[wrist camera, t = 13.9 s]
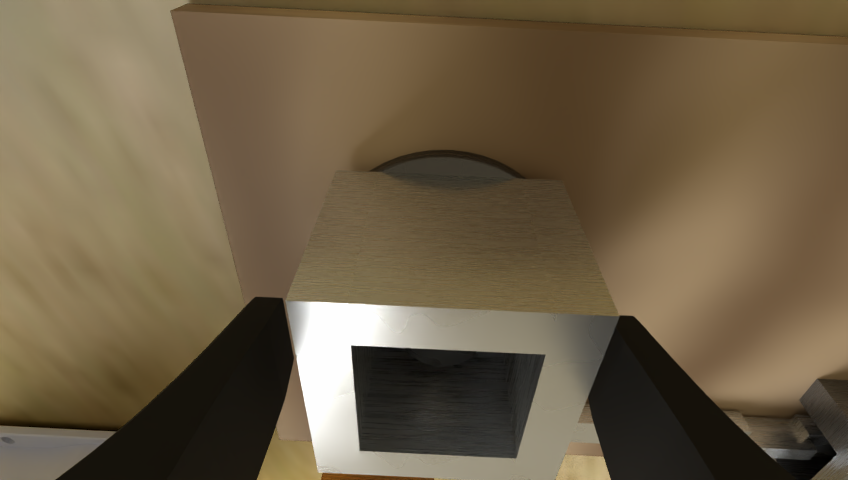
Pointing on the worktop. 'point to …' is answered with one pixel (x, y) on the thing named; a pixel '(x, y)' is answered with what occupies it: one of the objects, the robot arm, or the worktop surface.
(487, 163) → the post
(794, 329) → the deck plank
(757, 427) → the chain slider
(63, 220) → the worktop surface
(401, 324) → the grey recessed block
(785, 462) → the chain housing
